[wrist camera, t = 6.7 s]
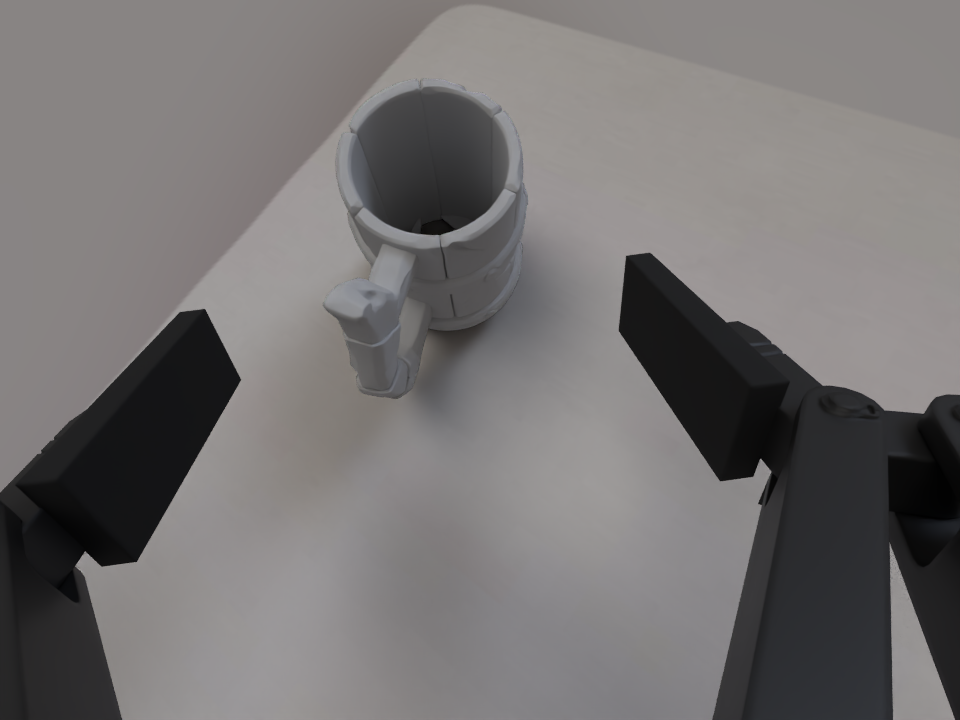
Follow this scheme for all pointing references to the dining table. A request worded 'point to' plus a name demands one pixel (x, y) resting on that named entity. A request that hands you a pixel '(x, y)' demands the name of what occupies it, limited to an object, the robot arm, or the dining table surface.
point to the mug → (415, 201)
